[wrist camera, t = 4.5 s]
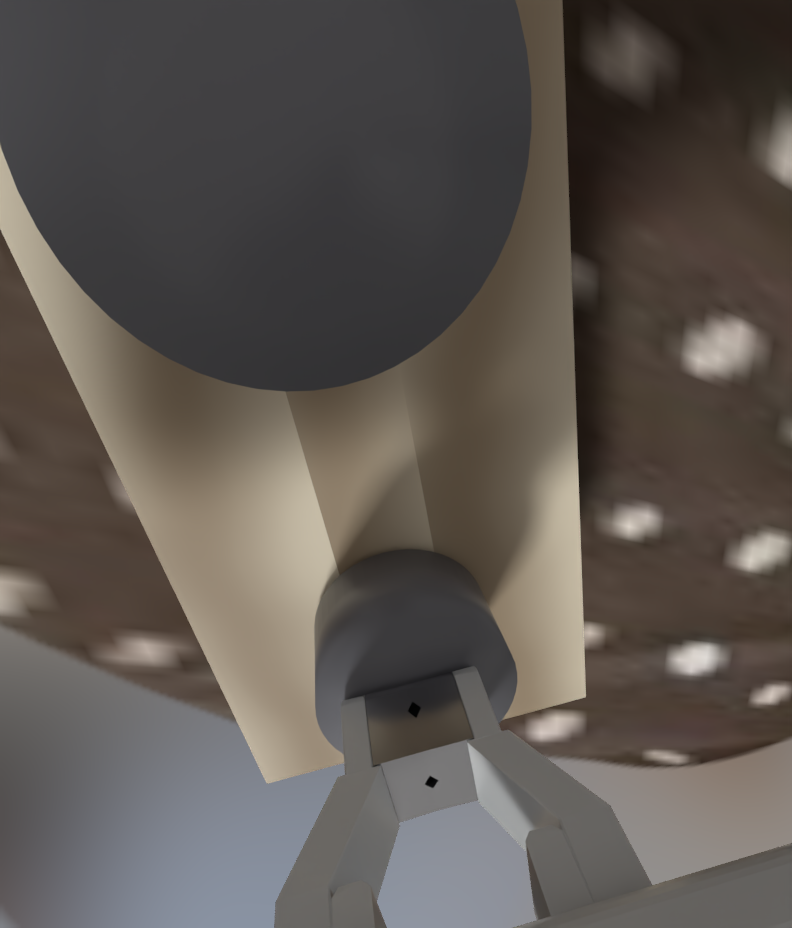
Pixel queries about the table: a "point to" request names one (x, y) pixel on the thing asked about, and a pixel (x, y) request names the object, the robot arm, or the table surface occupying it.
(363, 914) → the robot arm
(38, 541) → the table surface
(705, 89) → the table surface
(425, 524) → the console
